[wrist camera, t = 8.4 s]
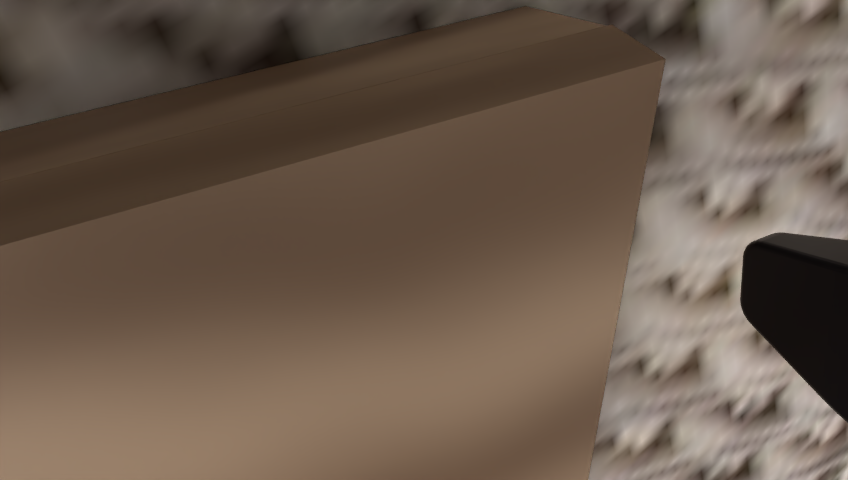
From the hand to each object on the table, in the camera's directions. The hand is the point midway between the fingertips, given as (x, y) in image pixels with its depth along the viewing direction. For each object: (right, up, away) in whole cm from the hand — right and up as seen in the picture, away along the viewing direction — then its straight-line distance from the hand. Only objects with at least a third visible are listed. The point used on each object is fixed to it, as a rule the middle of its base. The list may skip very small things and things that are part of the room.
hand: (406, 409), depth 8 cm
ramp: (-2, -2, +7) cm, 7 cm away
